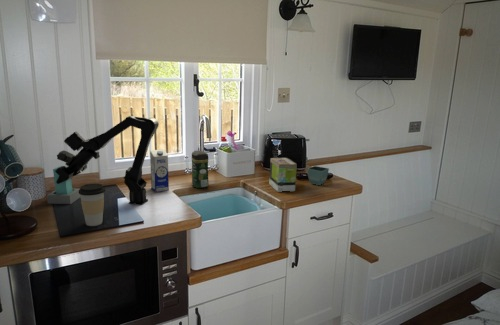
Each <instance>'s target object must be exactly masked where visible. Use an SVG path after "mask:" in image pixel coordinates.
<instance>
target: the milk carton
mask: <svg viewBox="0 0 500 325" xmlns="http://www.w3.org/2000/svg"><path fill="white" fill-rule="evenodd" d="M149 156H150V157H149V158H150V162H149V163H150V185H151V190H152V191H154V192H155V193H159V192H160V193H161V192H165V191H169V190H170V188H169V187H170V186H169V185H170V183H169V181H170V180H169V155H168V153H167V152H166V150H165V149H164V148H163V149H152V150H149Z"/></svg>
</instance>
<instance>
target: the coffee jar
mask: <svg viewBox="0 0 500 325" xmlns="http://www.w3.org/2000/svg"><path fill="white" fill-rule="evenodd" d="M191 184H192V186H193V187H195V188H197V189H199V188H200V189H203V188H204V189H205V188H207V187H209V154H208V153H207V152H205V151H204V150H201V149H200V150H194V151H192V153H191Z"/></svg>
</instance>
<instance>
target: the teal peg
mask: <svg viewBox="0 0 500 325" xmlns="http://www.w3.org/2000/svg"><path fill="white" fill-rule="evenodd" d="M61 166H62V165H60V166H57V167H55V168H53V170H52V171H53V172H52V174H53V180H54V188H55V190H56V194H69V193H71V192H72V191H73V190H72V188H73V184H72V178H71V179H69V180H67V181H64V182H62V183H59V184H57V183H56V181H57V179H58V177H59V175H58V174H57V173H56V172H55V170H56V169H57V168H59V167H61Z"/></svg>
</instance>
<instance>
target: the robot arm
mask: <svg viewBox="0 0 500 325" xmlns="http://www.w3.org/2000/svg"><path fill="white" fill-rule="evenodd" d="M159 125H160V124H159V121H158V120H157V118H155V117H148V118H147V117H139V116H134V115H128V116H126V118H124V119H123V120H122V121H120V122H119V123H117V124H115V125H114V126H113V127H111V128H110V129H108V130H107V131H105V132H103V133H101V134H99V135H96V136H94V137H91V138H87V139H84V138H83V137H82V136H81V135H80V134H79V132H78V131H74V132H73V133H71V134H70V135H69V136H67V137H66V138H65V139H64V140H63V143H65V144H66V145H67V146H68V147H69V148H70V149H71V150H72V151H74V152H75V151H77V153H76V155H74V153H71V152H70V151H66V150H62V151H61V150H60V151H59V152H58V154H57V155H56V157H57V158H56V159H57V160H58V161H61V162H64V163H65V165H60V166H61V167H59V166H58V167H59V168H57V167H56V168H57V169H56V170H55V172H56V173H57V174H58V175H59V177H58V179H57V181H56V183H57V184H59V183H62V182H64V181H67V180H69V179H71V180H72V178H73V177H75V176H78V175H79V174H81V173H82V172H85V170H86V169H88V164H89V162H90V161H91V160H92V159H93V158H94V159H95V160H97V159H99V158H100V152H99V151H100V150H101V149H103V148H105V147H106V146H107V145H108V144H109V143H110V142H111V141H112V140H113V138H114V139H115V137H117V136H118V135H120V134H121V133H123V132H124V131H125V130H127V129H129V128H130V127H133V128H136V129H139V130H140V141H139V142H138V146H137V150H136V153H135V155H134V159H133V162H132V166H129V167H128V168H127V169H125V174H124V176H123V179H124V184H125V186H126V187H127V188H128V190H129V193H128V194H129V196H128V199H129V202H128V204H131V205H138V206H139V205H140V206H141V205H143V204H145V203H146V202H148V201H149V199H148V198H147V189H146V186H147V183H148V182H147V181H146V180H145V179H144V178H143V165H144V161H145V158H146V155H147V152H148V150H149V147H150V144H151V143H150V142H151V140H152V139H153V136H154V135H155V133H156V132H157V129H158V128H159Z"/></svg>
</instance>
